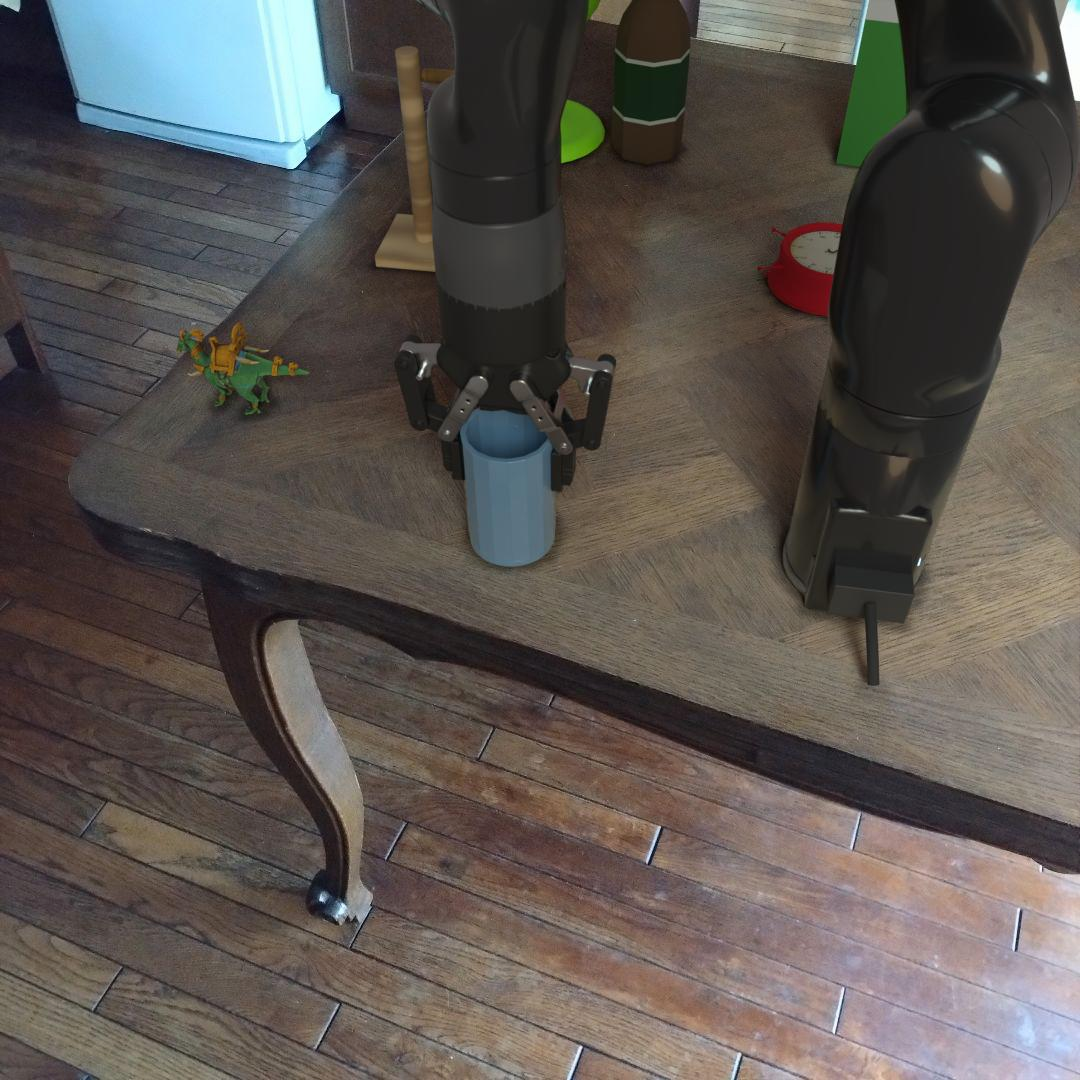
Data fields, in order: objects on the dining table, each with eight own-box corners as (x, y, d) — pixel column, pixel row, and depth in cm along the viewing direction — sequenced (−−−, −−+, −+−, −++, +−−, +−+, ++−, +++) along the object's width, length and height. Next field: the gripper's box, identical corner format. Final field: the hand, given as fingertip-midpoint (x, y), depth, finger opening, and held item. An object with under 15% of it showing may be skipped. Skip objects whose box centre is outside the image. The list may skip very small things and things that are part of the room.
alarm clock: (771, 213, 101) (939, 203, 95) (776, 271, 105) (937, 265, 99) (751, 270, 94) (930, 264, 88) (757, 331, 98) (929, 328, 92)
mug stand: (549, 282, 100) (548, 79, 86) (376, 266, 102) (347, 66, 88) (563, 238, 105) (563, 40, 91) (398, 224, 107) (374, 29, 94)
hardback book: (1009, 156, 116) (1089, -90, 98) (1006, 188, 111) (1089, -65, 93) (846, 133, 120) (895, -107, 102) (836, 163, 115) (885, -83, 98)
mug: (547, 572, 74) (545, 467, 67) (461, 561, 75) (450, 456, 68) (569, 473, 81) (570, 369, 74) (490, 465, 82) (484, 360, 75)
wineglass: (463, 168, 115) (451, -8, 102) (465, 103, 126) (454, -63, 113) (610, 164, 116) (616, -13, 102) (599, 99, 127) (604, -67, 113)
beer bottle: (611, 132, 121) (620, -106, 103) (679, 133, 120) (700, -106, 103) (611, 165, 115) (621, -80, 98) (683, 165, 115) (705, -80, 98)
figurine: (200, 381, 90) (175, 299, 84) (327, 408, 87) (311, 325, 81) (180, 403, 88) (153, 320, 82) (310, 431, 85) (292, 348, 79)
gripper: (361, 290, 59) (394, 503, 71) (616, 314, 57) (606, 529, 69) (397, 221, 64) (423, 431, 76) (633, 241, 62) (621, 453, 75)
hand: (510, 477), depth 73 cm, fingers closed on mug, 6 cm apart
